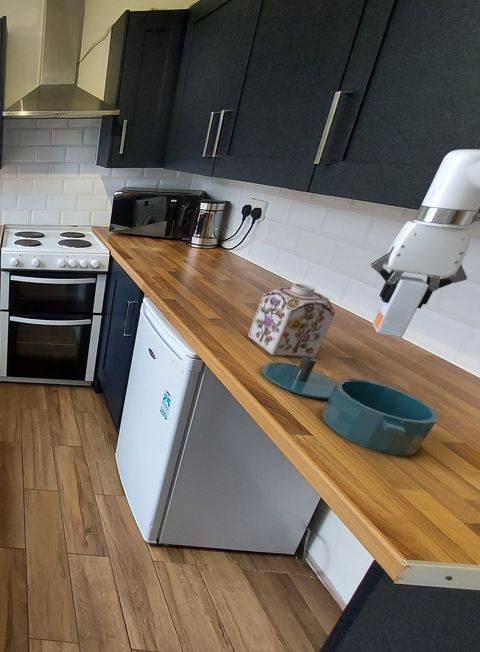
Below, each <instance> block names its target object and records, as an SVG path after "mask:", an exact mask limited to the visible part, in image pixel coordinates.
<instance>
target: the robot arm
mask: <svg viewBox="0 0 480 652" xmlns="http://www.w3.org/2000/svg"><path fill="white" fill-rule="evenodd" d="M479 209H480V149H476V148H475V149H472V148H470V149H463V148H462V149H455V150H452V151H449V152H448V153H447V154H446V155H445V156H444V157H443V159H442V161H441V163H440V165H439V167H438V169H437V171H436V173H435V175H434V177H433V180H432V182H431V184H430V187H429V188H428V190H427V192H426V194H425V197H424V199H423V201H422V202H421V204H420V207H419V209H418V211H417V213H416V216H415V217H414V219H413V220H407V221H406V222H405V224H404V225H403V226H402V228H401V229H400V230H399V233H398V234H397V235H396V237H395V238H394V240H393V242H392V243H391V245H390V247H389V249H388V250H387V253H386V254H384V255H383V256H381V257H380V258H377V259H376V260H375V261H373V262H371V263H370V267H371V268H372V269H373V270H374V271H376V272H377V273H378V274H379V275H380V276H381V277H382V279H383V280H384V284H383V287H382V289H381V291H380V292H379V297H380V300H381V301H382V303H383V302H385V303H388V302H389V301H390V299H391V297H392V295H393V293H394V291H395V289H396V287H397V286H396V285H395V284H396V281H397V280H398V279H399V277H400V276H403V274H404V273H408V274H415V275H423V276H426V280H425V282H426V283H427V284H428V285H429V287H428V289H427V290H426V292H425V294H424V296H423V298H422V300H421V302H420V304H419V306H418V308H417V309H422V307H423V305H427V304H428V303H429V300H430V298H431V296H432V294H433V292H437V291H438V290H440V289H441V288H444V287H447V286H450V285H451V284H456V283H460V282H464V281H466V280H468V276H467V274H466V271H465V269H464V267H463V265H462V263H463V262H464V259H465V256H466V254H467V251H468V249H469V247H470V243H471V241H472V235H473V232H474V227H472V226H473V224H474V223H479V222H480V212H479ZM384 265H385V266H387V268H389V269H390V271H388V270H387V269H386V268H384Z"/></svg>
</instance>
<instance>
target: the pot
mask: <svg viewBox="0 0 480 652" xmlns="http://www.w3.org/2000/svg"><path fill="white" fill-rule="evenodd" d="M336 383H337V384H336V386H335V388H334V390H333V392H332V394H331V396H330V398H329V399H327V402H326V403H325V406H324V408H323V410H322V414H321V416H322V419H323V421H324V423H325V424H326V425H327V426H328V427H329V428H330V429H331V430H332V431H334V432H335V433H337V434H338V435H340V436H342V437H343V438H345V439H346V440H348V441H350V442H352V443H354V444H356V445H359V446H361V447H364V448H367V449H369V450H371V451H375V452H378V453H382V454H386V455H390V456H399V457H408V456H409V457H410V456H413V455H415V454H416V453H418V450H419V449H420V447H421V446H422V445H423V443H424V441H425V439H426V438H427V437H428V435H429V434H430V432H431V431H432V429H433V427H434V426H435V424H436V423H437V421H438V420H439V418H440V416H439V415H438V413H437V411H436V410H435V409H434V408H433V407H432V406H430V405H429V404H427V403H426V402H424V401H423V400H422V399H420V398H417V397H415V396H413V395H412V394H409V393H407V392H405V391H404V390H403V391H402V390H400V389H398V388H394V387H391V386H389V385H386V384H381V382H380V381H377V380H373V379H369V378H365V377H364V378H363V379H357V378H356V379H355V378H348V379H340V380H339V381H338V382H336Z"/></svg>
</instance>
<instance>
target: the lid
mask: <svg viewBox="0 0 480 652" xmlns="http://www.w3.org/2000/svg"><path fill="white" fill-rule="evenodd" d="M317 360H318V359H316V357H314V358H313V357H310V356H303V357H301V358H300V362H299V364H298V365H297V364H294V363H293V364H292V363H289V362H288V363H287V362H269V363H266V364H264V365H262V369H261V372H262V374H263V375H264V376H265V377H266V378H267V380H269V381H270V382H272V383H273V384H275V385H277V386H279V387H280V388H283V389H285V390H287V391H290V392H292V393H295V394H298V395H300V396H301V395H302V396H305V397H309V398H313V399H321V400H329V398H330V396H331V394H332V392H333V390H334V388H335V386H336V384H337V383H338V382H336V381H334V380H333V379H331V378H330V377H328V376H327V375H325V374H322V373H321V372H318V371H315V370H314V368H315V366H316V363H317Z"/></svg>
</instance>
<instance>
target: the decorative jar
mask: <svg viewBox="0 0 480 652" xmlns="http://www.w3.org/2000/svg"><path fill="white" fill-rule="evenodd" d="M335 315H336V311H335V309H334V307H333V306H332V303H331V301H330V299H329V298H328V297H326V296H324V295H323V294H321V293H320V292H319V293H318V292H316V289H315V287H313V286H311V285H307V284H303V283H293V284H292V286H278V287H276V288H273V289H271V290H269V291H268V292H266V293H264V294H262V296H261V299H260V302H259V305H258V307H257V309H256V312H255V315H254V317H253V319H252V323H251V326H250V327H249V328H250V329H249V332H248V335H247V337H248V338H249V339H251V340H252V341H253V342H254V343H255V344H257V345H258V346H260V347H261V348H262V349H263V350H265V351H266V352H267V353H269V354H270V355H272V356H280V357H297V358H298V357H299V358H302V357H303V356H310V357H313V358H316V357H317V355H318V352H319V350H320V348H321V347H322V344H323V342H324V340H325V338H326V335H327V334H328V331H329V328H330V326H331V324H332V322H333V320H334V317H335Z"/></svg>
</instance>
